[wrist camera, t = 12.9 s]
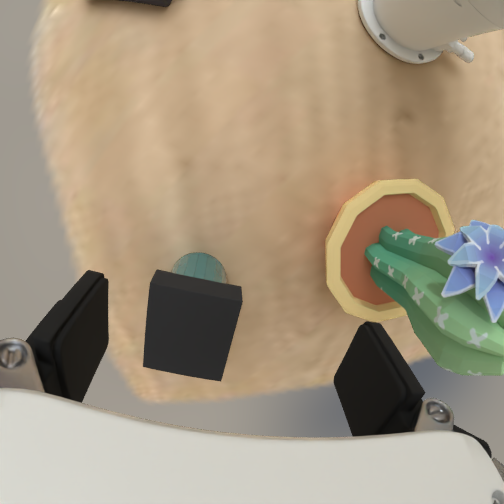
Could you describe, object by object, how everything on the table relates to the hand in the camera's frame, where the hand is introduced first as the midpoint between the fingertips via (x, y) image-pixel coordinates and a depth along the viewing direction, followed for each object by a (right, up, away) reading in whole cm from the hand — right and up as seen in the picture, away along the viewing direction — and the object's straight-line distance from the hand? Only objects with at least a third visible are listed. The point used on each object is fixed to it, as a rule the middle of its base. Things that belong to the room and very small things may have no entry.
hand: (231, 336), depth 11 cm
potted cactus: (+14, +5, +25) cm, 29 cm away
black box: (-5, -3, +17) cm, 18 cm away
